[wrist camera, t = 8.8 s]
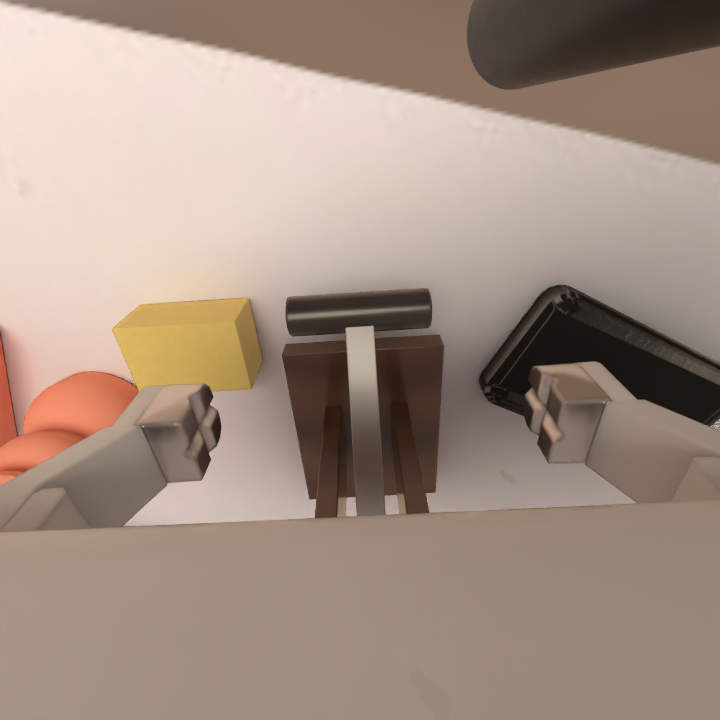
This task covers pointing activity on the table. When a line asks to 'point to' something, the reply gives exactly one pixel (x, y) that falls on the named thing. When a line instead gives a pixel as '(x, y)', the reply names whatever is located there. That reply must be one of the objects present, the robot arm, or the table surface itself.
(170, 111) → the table surface
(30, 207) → the table surface
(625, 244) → the table surface
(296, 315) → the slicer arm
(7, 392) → the pottery
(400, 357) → the brown wooden frame
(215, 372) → the butter block
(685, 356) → the phone
